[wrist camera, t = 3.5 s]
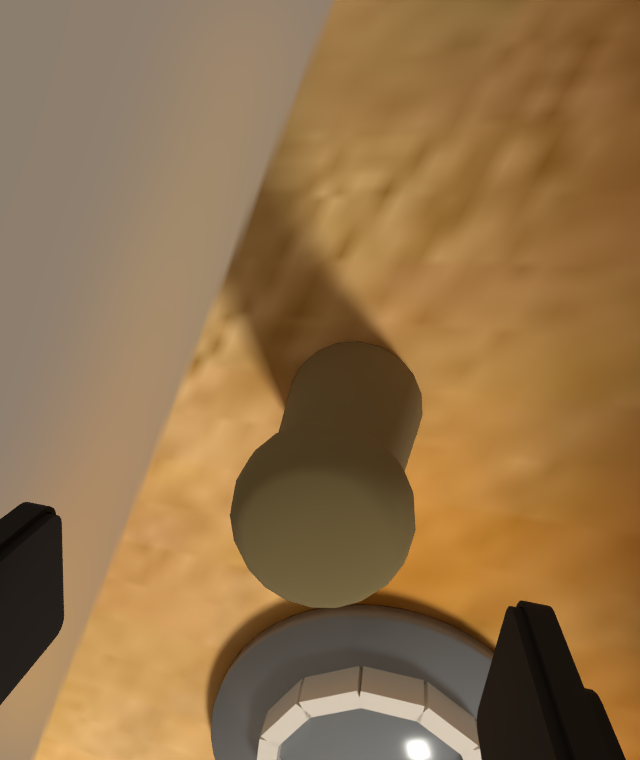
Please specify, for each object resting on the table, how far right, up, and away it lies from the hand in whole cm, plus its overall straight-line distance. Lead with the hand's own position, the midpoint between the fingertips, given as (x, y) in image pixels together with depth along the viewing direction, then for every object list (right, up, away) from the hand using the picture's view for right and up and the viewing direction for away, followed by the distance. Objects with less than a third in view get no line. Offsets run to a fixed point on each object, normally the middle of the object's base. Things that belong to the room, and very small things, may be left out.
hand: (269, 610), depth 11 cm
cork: (+3, +4, +13) cm, 14 cm away
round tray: (+4, -15, +18) cm, 24 cm away
